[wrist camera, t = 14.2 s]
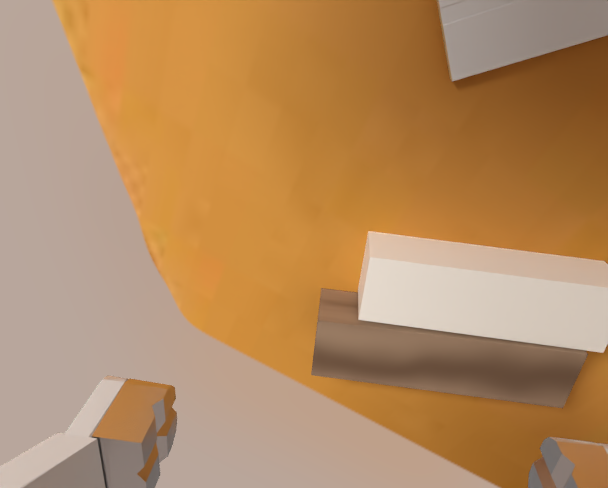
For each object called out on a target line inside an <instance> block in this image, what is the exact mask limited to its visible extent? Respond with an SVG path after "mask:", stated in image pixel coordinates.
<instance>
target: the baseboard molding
mask: <svg viewBox="0 0 608 488" xmlns="http://www.w3.org/2000/svg"><path fill="white" fill-rule="evenodd" d="M437 6H438V12H439V18H440V24H441V29H442V35H443V41H444V47H445V53H446V59H447V65H448V71H449V76H450V79H451V81H456V80H459V79H462V78H466V77H469V76H472V75H476V74H479V73H482V72H486V71H489V70H493V69H496V68H499V67H503V66H506V65H509V64H513V63H516V62H520V61H523V60H526V59H530V58H533V57H536V56H540V55H543V54H546V53H550V52H553V51H557V50H560V49H563V48H567V47H570V46H573V45H577V44H580V43H583V42H587V41H590V40H594V39H597V38H600V37H604V36H607V35H608V0H437Z"/></svg>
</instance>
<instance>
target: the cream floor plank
mask: <svg viewBox="0 0 608 488" xmlns="http://www.w3.org/2000/svg"><path fill="white" fill-rule="evenodd" d="M358 320H364V321H371V322H378V323H386V324H393V325H401V326H408V327H415V328H423V329H430V330H438V331H445V332H453V333H460V334H467V335H475V336H482V337H490V338H497V339H504V340H512V341H519V342H527V343H534V344H541V345H549V346H556V347H564V348H571V349H578V350H586V351H593V352H601V353H603V352H604V350H605V348H606V346H607V344H608V264H607V263H606V262H605V261H599V260H592V259H584V258H576V257H568V256H560V255H552V254H544V253H537V252H529V251H521V250H513V249H505V248H497V247H489V246H482V245H474V244H466V243H458V242H450V241H442V240H434V239H427V238H419V237H411V236H403V235H395V234H387V233H379V232H372V231H368V236H367V242H366V247H365V253H364V259H363V264H362V270H361V276H360V281H359V287H358Z"/></svg>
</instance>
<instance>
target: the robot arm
mask: <svg viewBox="0 0 608 488" xmlns="http://www.w3.org/2000/svg"><path fill="white" fill-rule="evenodd" d="M175 399H176V396H175V387H173V386H171V385H165V384H159V383H153V382H147V381H141V380H135V379H126V378H120V377H114V376H106V377H105V378H104V379H102V380H101V381H100V383H99V384H98V386H97V387H96V389H95V390H94V392H93V393H92V394H91V396H90V397H89V399H88V400H87V402H86V403H85V405H84V406H83V407H82V409H81V410H80V412H79V413H78V415H77V416H76V418H75V419H74V421H73V422H72V423H71V425H70V426H69V428H68V429H67V431H66V432H65V433H56V434H55V435H53V436H51V437H50V438H48V439H46V440H44V441H43V442H41V443H40V444H38V445H36V446H35V447H33V448H31V449H29V450H27V451H26V452H24V453H22V454H21V455H19V456H17V457H16V458H14V459H12V460H10V461H9V462H7V463H5V464H4V465H2V466H0V488H155V486H156V483H157V481H158V479H159V476H160V467H159V466H160V465H159V463H160V462H161V461H162V460H163V459H165V458H166V457H168V455H169V452H170V450H171V447H172V445H173V441H174V437H175V433H176V426H177V413H176V411H175V410H174V409H173V408H172V405H173V403H174V401H175ZM540 450H541V452H542V455H543V457H542V458H540V459H539V460H537V461H535V462H534V463H533V465H532V467H531V470H530V472H529V483H528V488H608V444H602V443H594V442H587V441H579V440H571V439H563V438H555V437H548V438H546V439H545V440H544V441H543V443H542V445H541V447H540Z"/></svg>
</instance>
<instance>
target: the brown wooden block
mask: <svg viewBox="0 0 608 488" xmlns="http://www.w3.org/2000/svg"><path fill="white" fill-rule="evenodd" d="M587 355H588V354H587V353H586V351H585V350H578V349H571V348H564V347H556V346H549V345H541V344H534V343H527V342H519V341H512V340H504V339H497V338H490V337H482V336H475V335H467V334H460V333H453V332H445V331H438V330H430V329H423V328H415V327H408V326H401V325H393V324H386V323H378V322H371V321H364V320H358V293H356V292H348V291H339V290H331V289H323V288H322V289H321V297H320V306H319V314H318V322H317V331H316V339H315V348H314V356H313V365H312V373H311V375H315V376H323V377H330V378H338V379H345V380H353V381H361V382H368V383H376V384H383V385H391V386H399V387H406V388H414V389H421V390H429V391H436V392H444V393H452V394H459V395H467V396H474V397H482V398H490V399H497V400H505V401H512V402H520V403H527V404H535V405H543V406H550V407H558V408H563V407H564V405H565V402H566V400H567V398H568V396H569V394H570V392H571V390H572V387H573V385H574V383H575V381H576V379H577V377H578V375H579V373H580V370H581V368H582V366H583V364H584V362H585V360H586V358H587Z"/></svg>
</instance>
